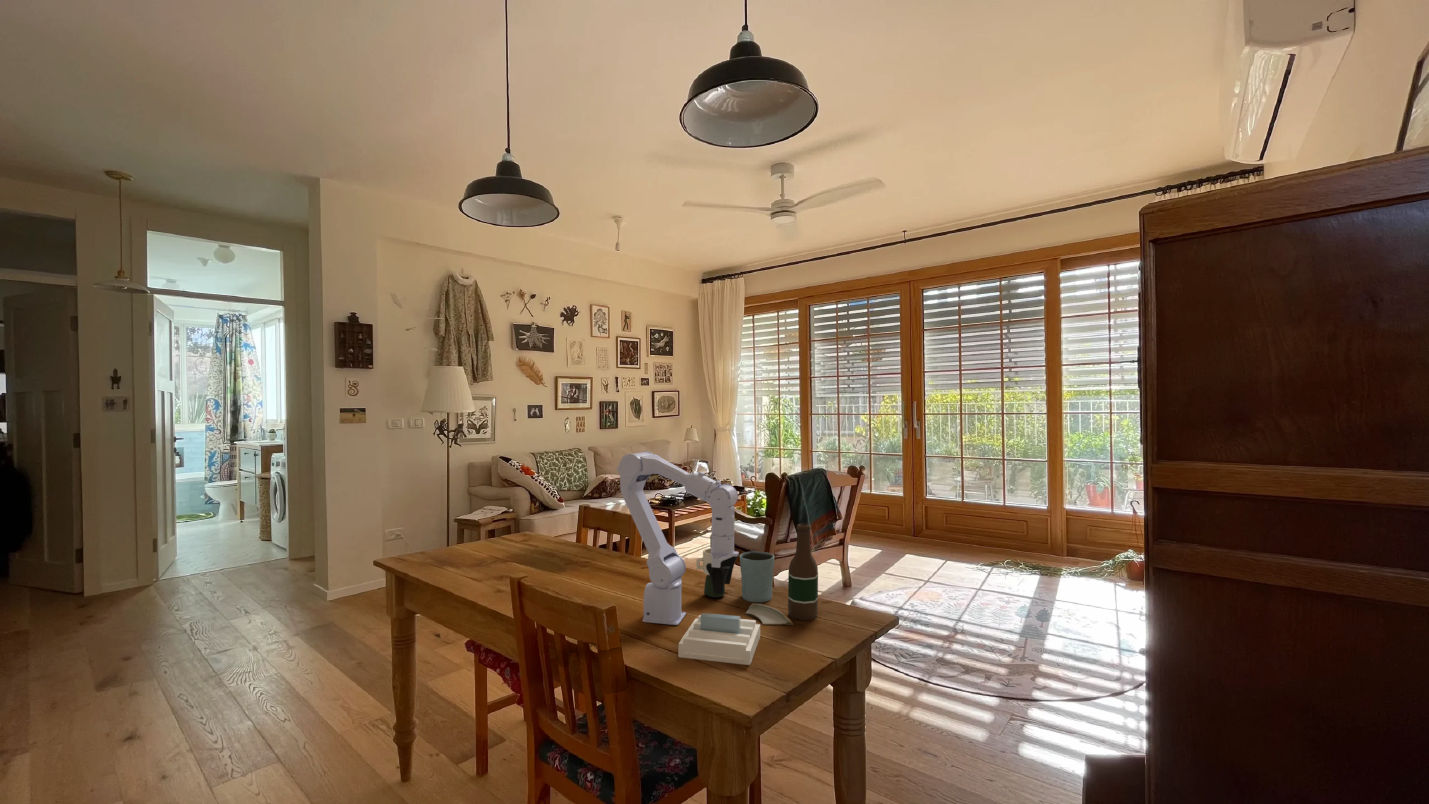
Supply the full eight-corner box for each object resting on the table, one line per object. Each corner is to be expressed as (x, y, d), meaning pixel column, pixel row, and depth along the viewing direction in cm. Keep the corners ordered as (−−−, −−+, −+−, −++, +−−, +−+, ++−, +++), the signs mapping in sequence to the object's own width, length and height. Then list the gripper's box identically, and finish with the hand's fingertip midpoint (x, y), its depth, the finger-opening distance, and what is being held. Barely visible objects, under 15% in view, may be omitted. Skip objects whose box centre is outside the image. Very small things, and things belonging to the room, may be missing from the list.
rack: (678, 657, 126) (678, 639, 126) (695, 630, 140) (695, 614, 140) (750, 665, 122) (750, 646, 122) (760, 636, 137) (760, 620, 137)
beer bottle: (804, 623, 146) (805, 529, 145) (781, 614, 151) (782, 524, 151) (823, 615, 151) (824, 525, 151) (801, 607, 157) (801, 520, 156)
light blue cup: (748, 605, 158) (749, 561, 158) (733, 593, 167) (733, 552, 167) (780, 600, 162) (781, 558, 162) (763, 589, 172) (764, 549, 171)
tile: (700, 641, 131) (700, 615, 131) (702, 638, 133) (702, 612, 133) (738, 646, 129) (739, 619, 129) (740, 642, 131) (740, 616, 131)
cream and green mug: (729, 590, 170) (729, 546, 170) (736, 598, 163) (736, 552, 163) (693, 593, 168) (693, 548, 168) (698, 601, 161) (699, 555, 161)
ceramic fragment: (793, 626, 144) (793, 611, 144) (781, 632, 140) (781, 617, 140) (750, 613, 154) (749, 599, 154) (737, 618, 150) (737, 604, 150)
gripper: (732, 542, 134) (731, 599, 134) (744, 528, 148) (743, 580, 148) (703, 539, 136) (702, 596, 136) (717, 526, 150) (717, 578, 150)
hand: (722, 588), depth 142 cm, fingers open, 7 cm apart
